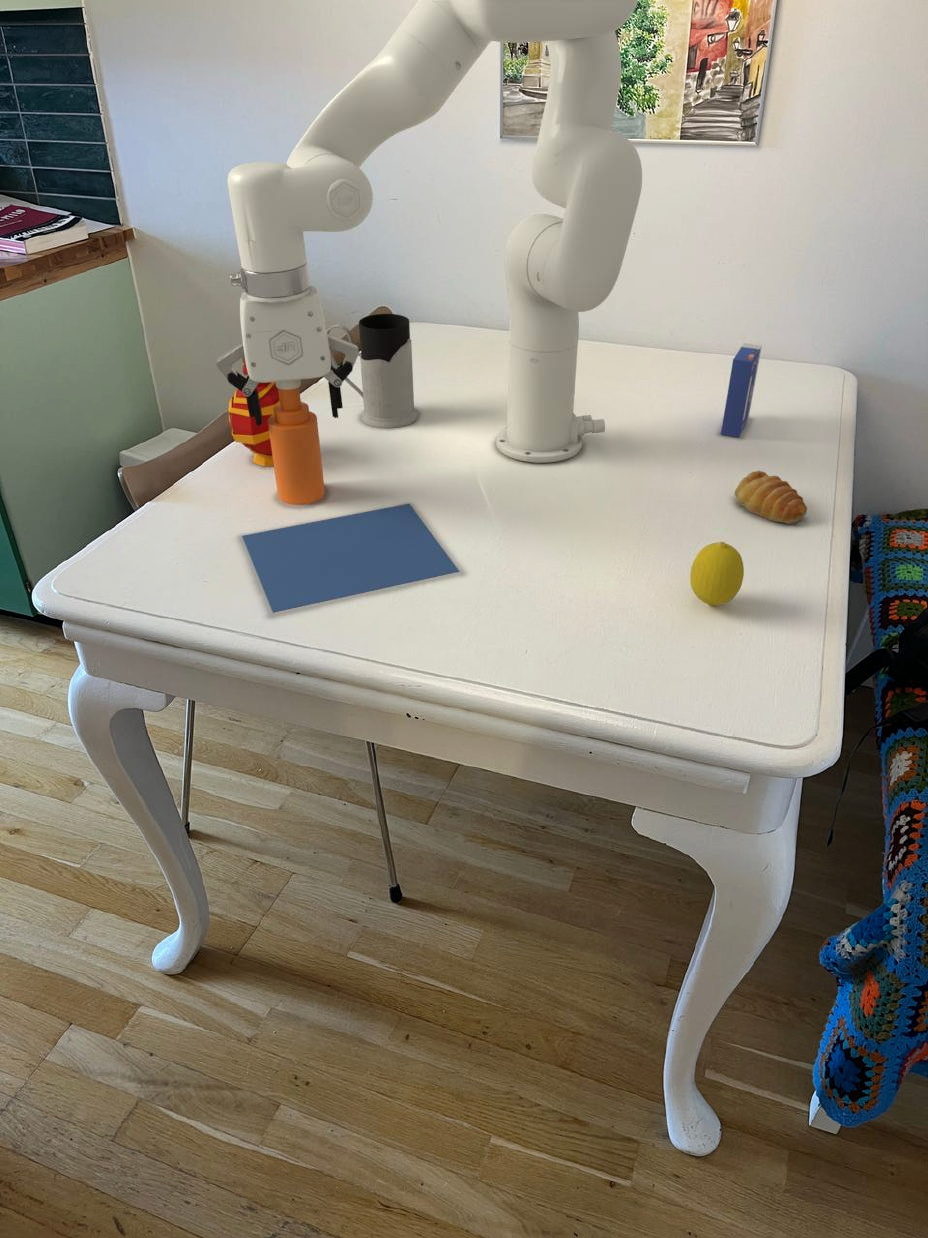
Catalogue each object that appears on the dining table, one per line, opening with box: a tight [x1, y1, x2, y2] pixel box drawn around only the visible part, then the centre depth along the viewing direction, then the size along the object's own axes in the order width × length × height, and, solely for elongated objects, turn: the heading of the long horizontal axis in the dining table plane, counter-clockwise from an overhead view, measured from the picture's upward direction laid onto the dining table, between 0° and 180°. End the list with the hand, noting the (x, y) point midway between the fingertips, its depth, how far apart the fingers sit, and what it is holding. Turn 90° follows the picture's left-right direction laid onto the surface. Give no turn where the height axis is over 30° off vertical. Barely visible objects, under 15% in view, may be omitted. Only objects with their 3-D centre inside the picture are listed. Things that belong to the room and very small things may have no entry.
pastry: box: [734, 470, 808, 525], centre depth 119 cm, size 9×7×4 cm
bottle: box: [268, 379, 326, 506], centre depth 119 cm, size 6×6×17 cm
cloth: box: [241, 503, 460, 613], centre depth 111 cm, size 22×18×1 cm
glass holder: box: [326, 313, 418, 429], centre depth 142 cm, size 9×14×15 cm, turn 71°
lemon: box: [689, 541, 745, 607], centre depth 100 cm, size 6×6×8 cm
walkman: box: [720, 342, 762, 439], centre depth 138 cm, size 8×3×12 cm, turn 155°
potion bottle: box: [227, 356, 280, 467], centre depth 129 cm, size 10×10×15 cm
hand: (297, 417), depth 118 cm, fingers open, 9 cm apart
